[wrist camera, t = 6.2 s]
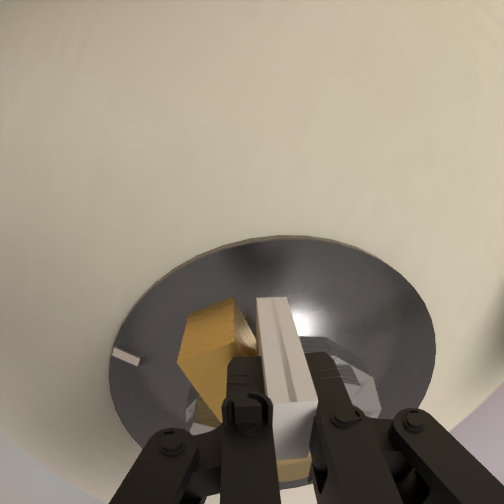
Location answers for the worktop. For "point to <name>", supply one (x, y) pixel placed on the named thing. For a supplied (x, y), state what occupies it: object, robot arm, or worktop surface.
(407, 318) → the bowl
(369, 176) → the worktop surface
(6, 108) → the worktop surface
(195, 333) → the ring nut
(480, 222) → the worktop surface
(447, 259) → the worktop surface
